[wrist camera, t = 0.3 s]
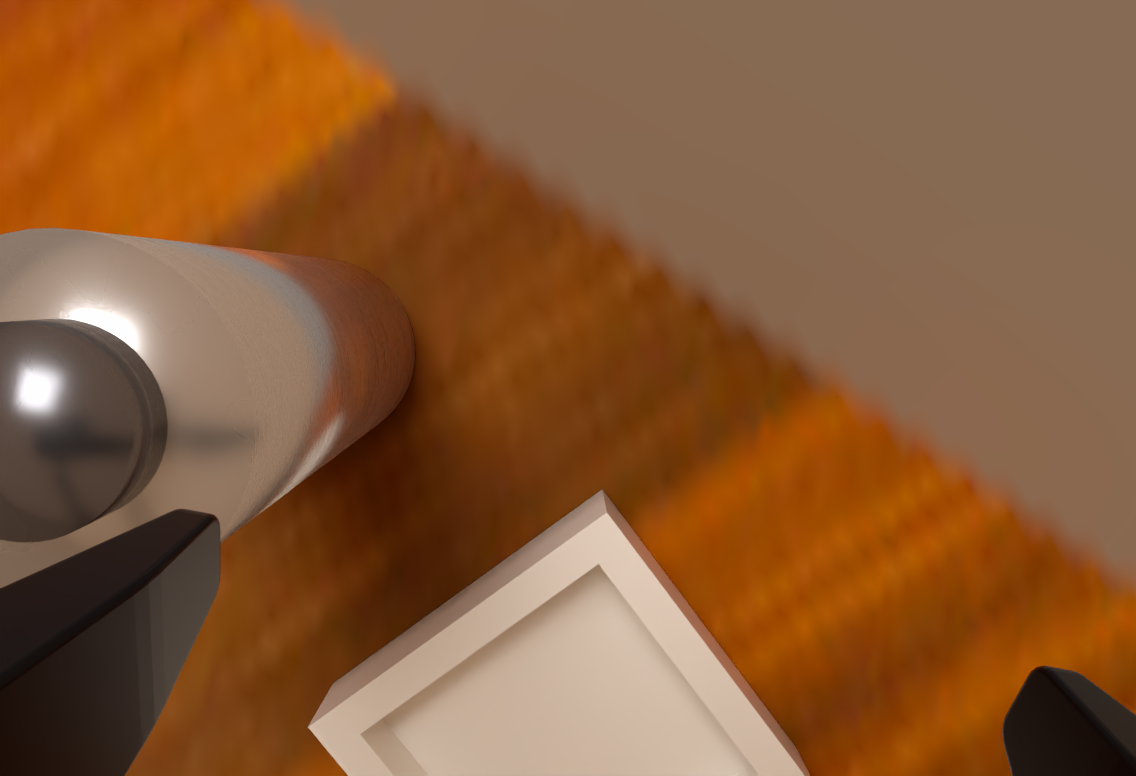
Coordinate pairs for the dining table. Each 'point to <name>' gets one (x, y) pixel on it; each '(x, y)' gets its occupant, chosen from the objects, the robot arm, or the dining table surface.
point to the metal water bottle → (176, 382)
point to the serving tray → (557, 676)
